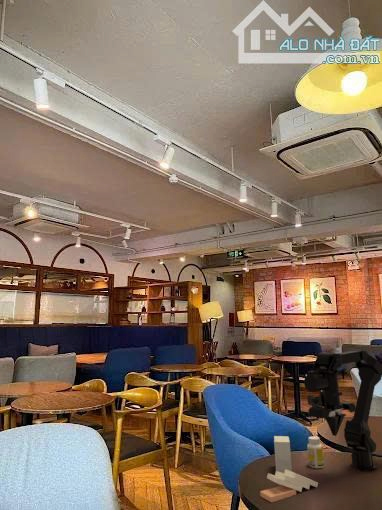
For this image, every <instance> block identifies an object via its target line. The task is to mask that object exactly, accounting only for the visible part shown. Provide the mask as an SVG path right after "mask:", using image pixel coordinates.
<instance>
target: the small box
mask: <svg viewBox="0 0 382 510" xmlns="http://www.w3.org/2000/svg"><path fill="white" fill-rule="evenodd" d="M273 446H274V459H275V472H276V471H278V472H281V473H283V474H284V471H285V469H286V470H289V471H291V472H293V466H292V464H293V463H292V456H291V455H292V454H291V453H292V452H291V441H290V437H289V436H287V435H286V436H285V435H284V436H282V435H274V436H273Z"/></svg>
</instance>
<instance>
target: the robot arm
mask: <svg viewBox="0 0 382 510" xmlns="http://www.w3.org/2000/svg"><path fill="white" fill-rule="evenodd" d="M350 363H354V366H355V367H356V369H357V371H358V378H359V379H360V383H359V384H360V386H359V389H358V394H357V398H356V403H355V404H354V403H353V402H349V401H343V400H342V401H341V397H340V396H342V395H343V391H340V388H339V377H338V376H341V375H342V373H341V371H339V370H338V369H340V368H342V367H343V365H345V364H350ZM381 380H382V364H381V363H380V362H379V361H378V359H377V358H375V357H373V356H371V355H370V354H369V353H368V352H367V351H366V350H364V349H353V350H349V351H343V352H337V353H336V352H335V353H334V352H333V353H332V352H319V353H318V354H317V357H316V358H315V362H314V364H313V367H312V369H311V370H308V371H307V375H305V377H304V380H303V384H304V388H305V389H306V390H307V391H308V392H310V393H311V392H313V393H314V392H319V396H315V395H314V394H310V395H307V399H306V400H307V403H308V405H309V406H311V407H309V408H308V410H307V411H308V416H309V417H313V418H319V419H325V421H326V423H327V425H328V427H329V430H330V432H331V435H332V436H334V437H336V436H337V435H338V432H339V430H340V428H341V425H342V423H343V422H344V418H345V417H347V414H345V413H343V411H345V410H346V411H349V413H353V416H352V419H351V420H346V422H345V427H344V429H343V436H344V440H345V443H346V446H347V447H348V448H351V453H350V454H351V463H350V466H352V467H353V468H355V469H357V470H360V471H361V472H363V471H370V470H376V469H377V466H375V465H374V459H373V453H375V451H376V450H377V443H376V442H375V440H373V438H372V437H371V432H372V431H371V430H370V426H369V423H368V422H369V417H370V413H371V408H372V407H371V406H372V402H373V397H374V392H375V386H376V385H377V384H378V383H380V382H381Z"/></svg>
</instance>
